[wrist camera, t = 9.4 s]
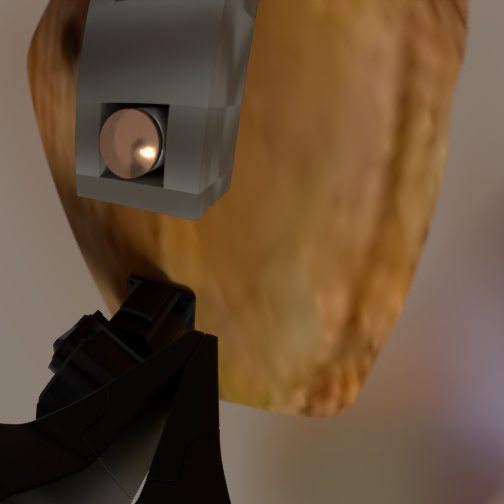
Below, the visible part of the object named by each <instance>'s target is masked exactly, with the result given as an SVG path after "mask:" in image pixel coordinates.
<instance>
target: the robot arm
mask: <svg viewBox="0 0 504 504" xmlns="http://www.w3.org/2000/svg"><path fill="white" fill-rule="evenodd" d="M127 287H128V296H129V297H128V298H127V299H126V300H125V301H124V302H123V303H122V305H121V306H120V309H119V310H118V311H117V312H116V314H115V315H114V316H113V317H112V318H111V319H110V321H108V320H107V319H106V318H105V317H104V316H103V314H102V313H101V312H100V311H99V310H97V311H96V312H95V313H94V314H93V315H91V314H90V315H89V316H88V315H84V316H83V317H82V318H81V319H80V320H79V321H78V323H77V324H76V325H75V326H73V328H71V329H70V330H69V331H68V332H66V333H65V334H63V335H62V336H61V337H59V338H58V339H57V340H56V341H55V343H54V344H53V348H54V355H53V357H52V361H51V363H50V365H49V367H48V368H49V369H50V370H51V371H52V372H53V373H55V375H54V376H53V377H52V379H51V380H50V382H49V383H48V384H47V386H46V387H45V389H44V390H43V391H42V393H41V394H40V396H39V402H38V404H37V410H36V420H34V421H32V422H28V423H23V424H2V423H0V504H131V502H132V500H133V498H134V497H135V495H136V493H137V491H138V489H139V487H140V485H141V484H142V481H143V480H144V478H145V476H146V474H147V473H148V471H149V473H148V475H147V478H146V481H145V484H144V487H143V489H142V492H141V494H140V496H139V498H138V500H137V502H136V503H135V504H231V501H230V497H229V493H228V488H227V484H226V480H225V475H224V470H223V465H222V458H221V447H220V429H219V385H218V337H217V336H214V335H211V334H207V333H206V334H204V333H203V332H200V331H197V330H195V306H196V297H195V295H194V294H193V293H191V292H188V291H184V290H181V289H177V288H174V287H170V286H167V285H164V284H160V283H157V282H154V281H150V280H147V279H144V278H140V277H137V276H134V275H131V276H129V277H128V279H127ZM188 297H189V298H190V299H189V298H188Z"/></svg>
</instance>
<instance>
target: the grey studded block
mask: <svg viewBox="0 0 504 504" xmlns="http://www.w3.org/2000/svg"><path fill="white" fill-rule="evenodd" d="M257 6H258V0H90V4H89V9H88V14H87V19H86V25H85V30H84V36H83V43H82V50H81V58H80V66H79V76H78V87H77V102H76V128H75V159H76V186H77V196H81V197H85V198H90V199H95V200H100V201H105V202H110V203H115V204H119V205H124V206H129V207H134V208H139V209H143V210H148V211H153V212H157V213H162V214H167V215H171V216H176V217H180V218H185V219H189V220H194V221H197V220H198V219H199V218H200V217H201V216H202V215H203V214H204V213H205V212H206V211H207V210H208V209H209V208H210V207H211V206H212V205H213V204H214V203H215V202H216V201H217V200H218V199H219V198H220V197H221V196H222V195H223V194H224V193H225V192H226V191H227V190H228V189H229V188H230V182H231V174H232V167H233V159H234V152H235V145H236V138H237V131H238V124H239V117H240V110H241V103H242V97H243V90H244V84H245V77H246V71H247V65H248V58H249V52H250V46H251V40H252V34H253V29H254V23H255V17H256V11H257ZM155 104H170V107H169V117H168V127H167V139H166V153H165V165H162V166H160V167H158V168H156V169H154V170H152V171H150V172H147V173H145V174H143V175H141V176H139V177H137V178H131V179H128V178H122V177H120V176H118V175H116V174H114V173H113V172H112V171H111V170H110V169H109V168H108V167H107V166H106V164H105V162H104V160H103V158H102V155H101V152H100V134H101V130H102V128H103V125H104V124H105V122H106V121H107V119H108V118H109V117H110V116H111V115H112V114H114V113H115V112H117V111H120V110H123V109H130V108H139V107H149V106H155Z"/></svg>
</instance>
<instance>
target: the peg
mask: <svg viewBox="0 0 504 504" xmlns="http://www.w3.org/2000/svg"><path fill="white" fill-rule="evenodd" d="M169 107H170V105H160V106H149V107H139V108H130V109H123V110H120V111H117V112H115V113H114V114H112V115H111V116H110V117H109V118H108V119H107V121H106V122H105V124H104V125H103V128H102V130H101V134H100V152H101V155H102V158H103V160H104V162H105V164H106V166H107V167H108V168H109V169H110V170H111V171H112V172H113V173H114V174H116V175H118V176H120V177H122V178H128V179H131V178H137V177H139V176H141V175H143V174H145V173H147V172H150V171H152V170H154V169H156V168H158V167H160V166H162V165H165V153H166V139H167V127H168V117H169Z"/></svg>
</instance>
